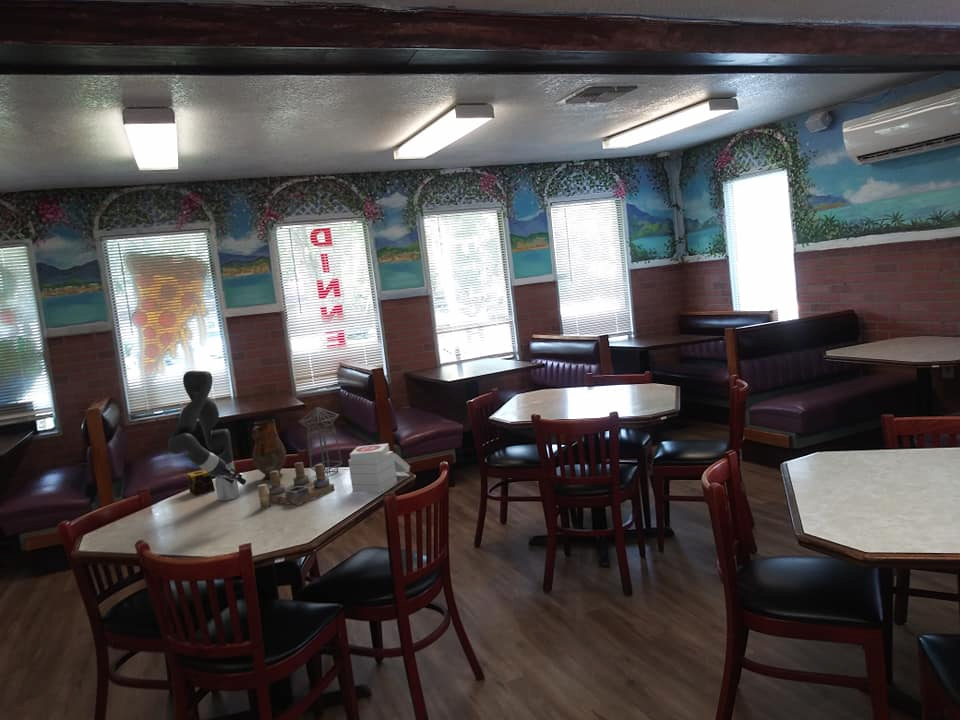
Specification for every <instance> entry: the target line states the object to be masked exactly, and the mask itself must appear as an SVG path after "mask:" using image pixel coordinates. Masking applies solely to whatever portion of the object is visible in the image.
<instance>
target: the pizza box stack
mask: <svg viewBox="0 0 960 720" xmlns="http://www.w3.org/2000/svg"><path fill="white" fill-rule="evenodd" d="M349 457H350V459H348V460H347V461H348V466H349V474H350V480H351V487H352V492H360V493H361V492H362V493H365V492H366V493H367V492H368V493H369V492H371V493H380V492H379V491H381V490H383V489H384V490H386V489H388V488H390V487H392V486H393V485H395V484H396V483H398V478H397V473H410V469H411V465H409V463H407V462H406V461H405V460H404V459H403V458H401V457H400V456H399V455H398V454H397V453H396V452H395V453H394V451H391V450H390V445H389V443H379V444H371V445H361V446H360V445H359V446H357V447H355V449H353V450H352V451H351V452H350V453H349ZM394 483H395V484H394ZM389 486H390V487H389ZM387 487H388V488H387ZM385 488H386V489H385ZM384 490H383V491H384ZM376 491H378V492H376ZM381 492H382V491H381Z"/></svg>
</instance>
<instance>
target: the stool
mask: <svg viewBox="0 0 960 720" xmlns="http://www.w3.org/2000/svg"><path fill="white" fill-rule="evenodd" d="M324 465H325V464H324ZM324 465H323V463H322V464H319V463H317V464H314V466H315V467H314V469H315V471H314V472H315V477H316V479H313V481H310V478H309V475H306V473H305V467H304V462H303V461H300V462H296V463H294V471H295V477H293V484H291V485H287V486H285V484H282V483H281V478H280V477H279V471H271V472H270V479H271V480H270V485H271V486H269V487H268V495H269V502H270V501H274V502H273V503H277V502H281V503H280V504H284V503H289V504H288V505H291V504H296V505H295V506H299V505H298V504H300V503H302V504H304V503H303V502H305V501H307V500H310V499H312V500H314V499H313V498H315V497H317V498H319V497H318V496H320V497H322V496H324V495H323V494H325V495H327V494H329V492H330V493H331V491H332V492H333V491H335V484H334V483H330V478H329V477H327V476H326V473H325V471H324ZM326 493H327V494H326ZM321 495H322V496H321ZM315 499H316V498H315ZM310 501H311V500H310ZM307 502H308V501H307ZM305 503H306V502H305ZM300 505H301V504H300Z"/></svg>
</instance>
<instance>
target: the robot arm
mask: <svg viewBox="0 0 960 720" xmlns="http://www.w3.org/2000/svg"><path fill="white" fill-rule="evenodd" d="M212 375H213V374H212V373H211V372H210V371H205V370H190V371H186V372H185V373H184V375H183V378H182V384H183V387H184V390H185V392H186V394H187V395H188V397H189V399H190V402H188V404H187V405H186V406H184V408H183V409H182V411H181V413H180V414H179V418H178V421H177V425H176V426H175V428H174V429H173V431H172V433H171V435H170V437H169V438H168V441H167V448H168V450H169V452H170V453H171V454H173V455H180V454H182V453H183V452H188V453H187V458H188V460H190V461H191V462H192V463H193V464H195V465H197V466H198V467H199V468H201V470H205V471H206V472H207V473H209V474H211V475H212V477H215V480H214V481H215V488H216V489H215V490H216V495H217V499H218V500H219V501H221V502H222V501H223V502H224V501H230V500H231V499H232V500H235V499H237V498H239V497H240V493H239V485H238V484H241V485H242V486H243V485H246V483H247V480H246V479H245V478H244V477H243V474H241V473H240V472H238V471H237V470H236V468H235V462H234V461H235V460H234V456H233V455H234V454H233V449H232V448H233V447H232V438H231V437H232V436H231V433H230V430H229V429H228V428H221V429H215V430H213V428H214V427H215V425H216V424H217V422H218V421H219V418H220V413H219V410H218V407H217V404H216V402H215V401H214V400H213V399H212V398H210V397H209V394H210V393H211V390H212V386H213V376H212ZM198 421H199V424H200V426H201V429H202V434H203V437H204V440H205V444H206V446H207V448H208V449H209V450H210V451H209V450H208V449H206V448H205V447H203V446H202V445H201V444H200V442H199V441H198V440H197V438H196V437H195V436H194V435H192V433H193V432H194V431H195V430H196V426H197V423H198ZM223 449H224V451H223V452H222V453H221V454H219V455H216V454H214V453H213V452H211V451H218V450H223Z"/></svg>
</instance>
